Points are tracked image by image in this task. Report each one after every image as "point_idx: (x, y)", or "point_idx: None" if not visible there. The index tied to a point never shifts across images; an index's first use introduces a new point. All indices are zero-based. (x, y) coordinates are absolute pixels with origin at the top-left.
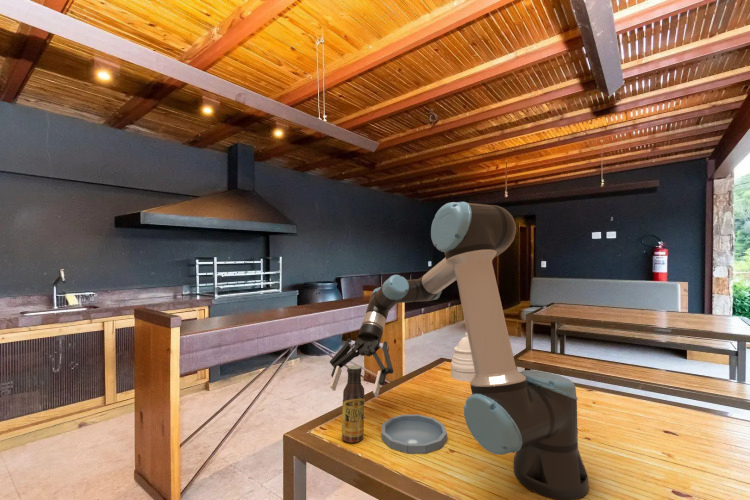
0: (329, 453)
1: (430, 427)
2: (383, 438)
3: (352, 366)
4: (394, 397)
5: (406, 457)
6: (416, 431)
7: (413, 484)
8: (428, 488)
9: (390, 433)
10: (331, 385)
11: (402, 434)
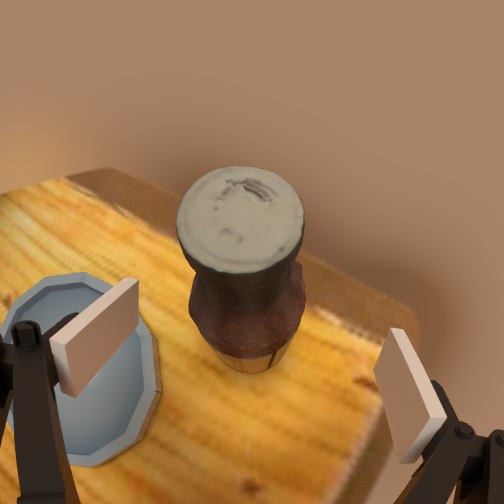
0: None
1: None
2: (149, 329)
3: (260, 215)
4: None
5: (97, 264)
6: None
7: (99, 185)
8: (78, 182)
9: (130, 363)
10: (396, 332)
11: None
